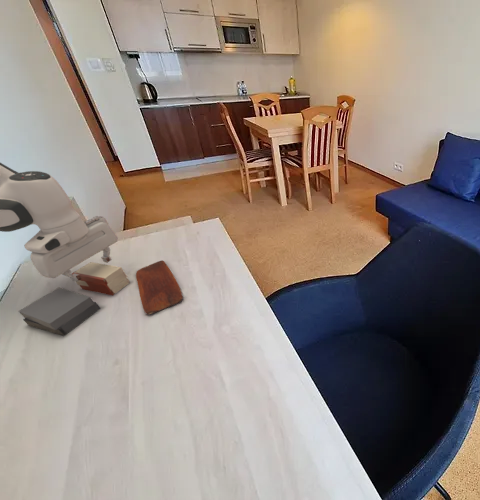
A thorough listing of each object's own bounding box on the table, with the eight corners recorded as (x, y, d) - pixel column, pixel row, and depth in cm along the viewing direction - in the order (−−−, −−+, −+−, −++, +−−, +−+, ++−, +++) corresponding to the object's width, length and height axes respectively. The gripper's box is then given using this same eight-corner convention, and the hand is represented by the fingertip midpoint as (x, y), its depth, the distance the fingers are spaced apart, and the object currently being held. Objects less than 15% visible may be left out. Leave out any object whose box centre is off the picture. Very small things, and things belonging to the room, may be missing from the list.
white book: (74, 279, 91) (70, 273, 90) (94, 267, 96) (90, 261, 95) (106, 285, 88) (102, 279, 87) (124, 272, 93) (121, 267, 91)
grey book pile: (26, 326, 82) (13, 313, 79) (67, 299, 90) (57, 286, 87) (63, 337, 78) (51, 324, 75) (103, 307, 86) (93, 294, 83)
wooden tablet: (185, 301, 86) (183, 296, 85) (146, 318, 81) (144, 314, 80) (167, 259, 104) (165, 255, 103) (134, 272, 99) (132, 268, 98)
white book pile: (81, 289, 93) (73, 279, 91) (101, 276, 99) (94, 266, 96) (112, 296, 90) (105, 286, 87) (131, 282, 95) (125, 272, 93)
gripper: (94, 212, 92) (117, 249, 99) (16, 249, 76) (50, 290, 83) (109, 214, 90) (131, 252, 98) (32, 252, 74) (66, 294, 82)
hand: (93, 270), depth 90 cm, fingers open, 8 cm apart
